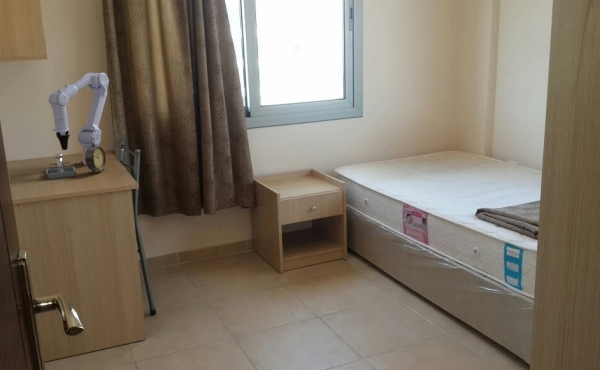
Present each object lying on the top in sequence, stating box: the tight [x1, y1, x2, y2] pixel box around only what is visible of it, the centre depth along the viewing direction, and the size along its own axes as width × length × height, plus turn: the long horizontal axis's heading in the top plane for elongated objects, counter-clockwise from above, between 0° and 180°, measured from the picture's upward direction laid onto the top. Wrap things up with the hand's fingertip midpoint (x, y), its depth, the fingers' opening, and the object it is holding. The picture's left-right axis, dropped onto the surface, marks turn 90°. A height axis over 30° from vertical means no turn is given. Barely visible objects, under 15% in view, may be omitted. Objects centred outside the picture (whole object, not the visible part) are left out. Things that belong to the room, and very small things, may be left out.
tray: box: [45, 165, 77, 181], centre depth 282 cm, size 11×12×2 cm
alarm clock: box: [85, 137, 107, 175], centre depth 285 cm, size 11×5×16 cm, turn 168°
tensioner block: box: [48, 160, 71, 169], centre depth 293 cm, size 9×9×3 cm
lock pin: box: [53, 153, 64, 173], centre depth 282 cm, size 3×3×9 cm
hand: (64, 148), depth 290 cm, fingers open, 7 cm apart
